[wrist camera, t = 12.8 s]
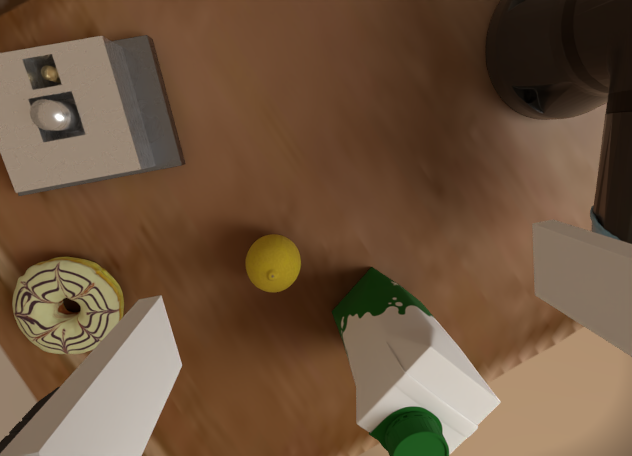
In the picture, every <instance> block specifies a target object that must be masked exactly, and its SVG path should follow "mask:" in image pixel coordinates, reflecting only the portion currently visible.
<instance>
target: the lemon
mask: <svg viewBox="0 0 632 456" xmlns="http://www.w3.org/2000/svg"><path fill="white" fill-rule="evenodd" d="M300 267H301V258H300V254H299V251H298V249H297V247H296V246H295V244H294V243H293V242H292V241H291V240H289V239H288V238H286V237H284V236H281V235H277V234H271V235H266V236H263V237H261V238H259V239H258V240H256V241H255V242H254V243H253V244H252V246H251V247H250V249H249V250H248V253H247V256H246V271H247V274H248V277H249V278H250V280H251V282H252V283H253V284H254V285H255V286H256V287H258V288H259V289H261V290H263V291H266V292H280V291H282V290H285V289H287V288H288V287H289V286H291V285H292V284H293V282H294V281H295V280H296V278H297V276H298V274H299V272H300Z"/></svg>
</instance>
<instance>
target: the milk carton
mask: <svg viewBox="0 0 632 456" xmlns="http://www.w3.org/2000/svg"><path fill="white" fill-rule="evenodd" d="M332 314H333V316H334V319H335V322H336V325H337V327H338V330H339V333H340V335H341V338H342V341H343V343H344V347H345V350H346V354H347V357H348V360H349V364H350V367H351V371H352V374H353V377H354V381H355V384H356V419H357V424H358V425H359V426H360V427H362V428H364V429H365V430H367V431H368V432H369V435H371V436H372V437H374V438H375V439H377V440H379V442H380V443H381V445H382V446H383V447H384V448H385V449H386V450H387V451H388V452H389V455H390V456H449V455H450V454H451V452H453V451H454V450H455V449H456V448H457V447H458V446H459V445H460V444H461V443H462V442H463V441H464V440H465V439H466V438H468V437H470V436H471V435H472V434H473V433H474V432H475V431H476V430H477V428H478V426H477V425H478V424H479V423H480V422H481V421H482V420H483V419H484V418H485V417H486V416H487V415H488V414H489V413H490V412H491V411H492V410H493V409H494V408H495V407H496V406H497V405H498V404H499V403H500V400H499V399H498V398H497V397H496V395H495V394H494V393H493V391H492V390H491V389H490V387H489V386H488V385H487V383H486V382H485V381H484V380H483V378H482V377H481V376H480V374H479V373H478V372H477V370H476V369H475V368H474V366H473V365H472V364H471V362H470V361H469V360H468V358H467V357H466V356H465V354H464V353H463V352H462V350H461V349H460V348H459V347H458V345H457V344H456V343H455V342H454V341H453V339H452V338H451V337H450V336H449V335H448V333H447V332H446V331H445V330H444V329H443V327H442V326H441V325H440V324H439V323H438V321H437V320H436V319H435V318H434V317H433V315H432V314H431V313H430V312H429V311H428V310H427V308H426V307H425V306H424V305H423V304H422V303H421V302H420V301H419V300H418V299H416V298H415V297H414V296H413V295H411V294H410V293H409V292H408V291H407V290H405V289H404V288H403V287H402V286H400V285H399V284H397V283H396V282H394V281H393V280H391V279H390V278H388V277H386V276H385V275H383V274H382V273H380V272H379V271H377V270H376V269H374V268H373V267H371V268H370V269H369V270H368V272H367V273H366V274H365V275H364V276H363V277H362V278H361V279H360V280H359V282H358V283H357V284H356V285H355V286H354V287H353V288H352V289H351V291H350V292H349V293H348V294H347V295H346V296H345V297H344V298H343V299H342V301H341V302H340V303H339V304H338V305H337V306H336V307H335V308H334V310H333V311H332Z"/></svg>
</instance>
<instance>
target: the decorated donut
mask: <svg viewBox="0 0 632 456" xmlns="http://www.w3.org/2000/svg"><path fill="white" fill-rule="evenodd" d="M64 298H69V299H70V300H73V301H76V302H77V303H78V304H79V305H80V307H81V311H80V312H74V313H73V312H69V311H68V310H66V308H65V307H64V304H63V302H64V301H63V299H64ZM12 306H13V313H14V316H15V319H16V322H17V325H18V326H19V328H20V330H21V331H22V332H23V333H24V335H25V336H26V337H27V338H28V339H29V340H30V341H31V342H32V343H33V344H35V345H36V346H38V347H39V348H40V349H42V350H44V351H47V352H50V353H56V354H81V353H85V352H87V351H90V350H92V349H95V348H96V347H97V346H98V344H99V343H100V342H101V341H102V340H103V339H104V338H105V337H106V336H107V334H108V333H109V332H110V331H111V330H112V329H113V328H114V327H115V326H116V324H117V323H118V322H119V321H120V320H121V319H122V318H123V312H124V299H123V293H122V290H121V287H120V286H119V284H118V282H117V281H116V280H115V279H114V278H113V277H112V276H111V274H109V273H108V272H107V271H106V270H105V269H103V268H102V267H101V266H99V265H98V264H97V263H95V262H92V261H89V260H86V259H81V258H74V257H57V258H53V259H51V260H48V261H44V262H40V263H37V264H35V265H34V266H31V267H30V268H28V269H27V271H26V273H25V275H24V276H21V277H19V279H18V282H17V285H16V289H15V290H14V295H13V302H12Z"/></svg>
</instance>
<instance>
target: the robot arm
mask: <svg viewBox="0 0 632 456" xmlns="http://www.w3.org/2000/svg"><path fill="white" fill-rule="evenodd" d="M486 62H487V68H488V72H489V75H490V79H491V81H492V84H493V86H494V88H495V89H496V91H497V93H498V94H499V96H500V97H501V98H502V99H503V101H504V102H505V103H506V104H507V105H509V106H510V107H511V108H512V109H514V110H515V111H517V112H518V113H520V114H522V115H525V116H527V117H531V118H535V119H543V120H549V119H564V118H571V117H575V116H578V115H582V114H584V113H587V112H589V111H591V110H593V109H595V108H597V107H599V106H601V105H603V104H605V103H607V109H606V114H605V121H604V129H603V137H602V145H601V154H600V162H599V170H598V178H597V186H596V194H595V200H594V206H592V207H591V210H590V217H591V220H592V232H591V231H588V230H585V229H582V228H579V227H575V226H572V225H569V224H566V223H562V222H559V221H556V220H549V221H544V222H539V223H533V224H532V226H533V254H534V282H535V295H536V296H537V297H539V298H540V299H542V300H544V301H545V302H547V303H548V304H550V305H551V306H553V307H554V308H556V309H558V310H559V311H561V312H562V313H564V314H565V315H567V316H569V317H570V318H572V319H573V320H575V321H576V322H578V323H580V324H581V325H583V326H584V327H586V328H587V329H589V330H591V331H592V332H594V333H595V334H597V335H599V336H600V337H602V338H603V339H605V340H606V341H608V342H610V343H611V344H613V345H614V346H616V347H617V348H619V349H620V350H622V351H624V352H625V353H627V354H628V355H630V356H631V357H632V0H501V1H500V2H499V4H498V6H497V8H496V10H495V12H494V14H493V17H492V19H491V22H490V25H489V29H488V34H487V40H486ZM181 367H182V363H181V360H180V356H179V353H178V349H177V346H176V343H175V339H174V336H173V333H172V329H171V326H170V323H169V319H168V316H167V313H166V309H165V306H164V303H163V299H162V296H161V295H160V296H155V297H150V298H145V299H139V300H138V301H137V302H136V303H135V304H134V306H133V307H132V308H131V309H130V310H129V311H128V312H127V313H126V314H125V316H124V317H123V318H122V319H121V320H120V321H119V322H118V323H117V324H116V326H115V327H114V328H113V329H112V330H111V331H110V332H109V333H108V334H107V336H106V337H105V338H104V339H103V340H102V341H101V342H100V343H99V344H98V346H97V347H96V348H95V349H94V350H93V351H92V352H91V353H90V354H89V356H88V357H87V358H86V359H85V360H84V361H83V362H82V363H81V364H80V366H79V367H78V368H77V369H76V370H75V371H74V372H73V373H72V374H71V376H70V377H69V378H68V379H67V380H66V381H65V382H64V383H63V384H62V386H61V387H58V388H56V389H55V390H54V391H52V392H51V393H50V394H48V395H47V396H45V397H44V398H43V399H41V400H40V401H39V402H37V403H36V404H35V405H34V406H33V408H32V409H31V410H30V411H29V412H28V413H27V414H26V415H25V416H24V417H23V418H22V421H21V422H19V423H18V424H17V425H16V426H15V427H14V428H13V429H12V430H11V431H10V432H9V433H10V434H9V435H8V436H6V437H5V438H4V439H3V440H2V441H1V442H0V456H141V455H142V453H143V451H144V449H145V447H146V444H147V442H148V440H149V438H150V436H151V433H152V431H153V429H154V427H155V424H156V422H157V420H158V418H159V416H160V413H161V411H162V409H163V407H164V405H165V402H166V400H167V398H168V396H169V394H170V391H171V389H172V387H173V385H174V382H175V380H176V378H177V376H178V374H179V371H180V369H181Z"/></svg>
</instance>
